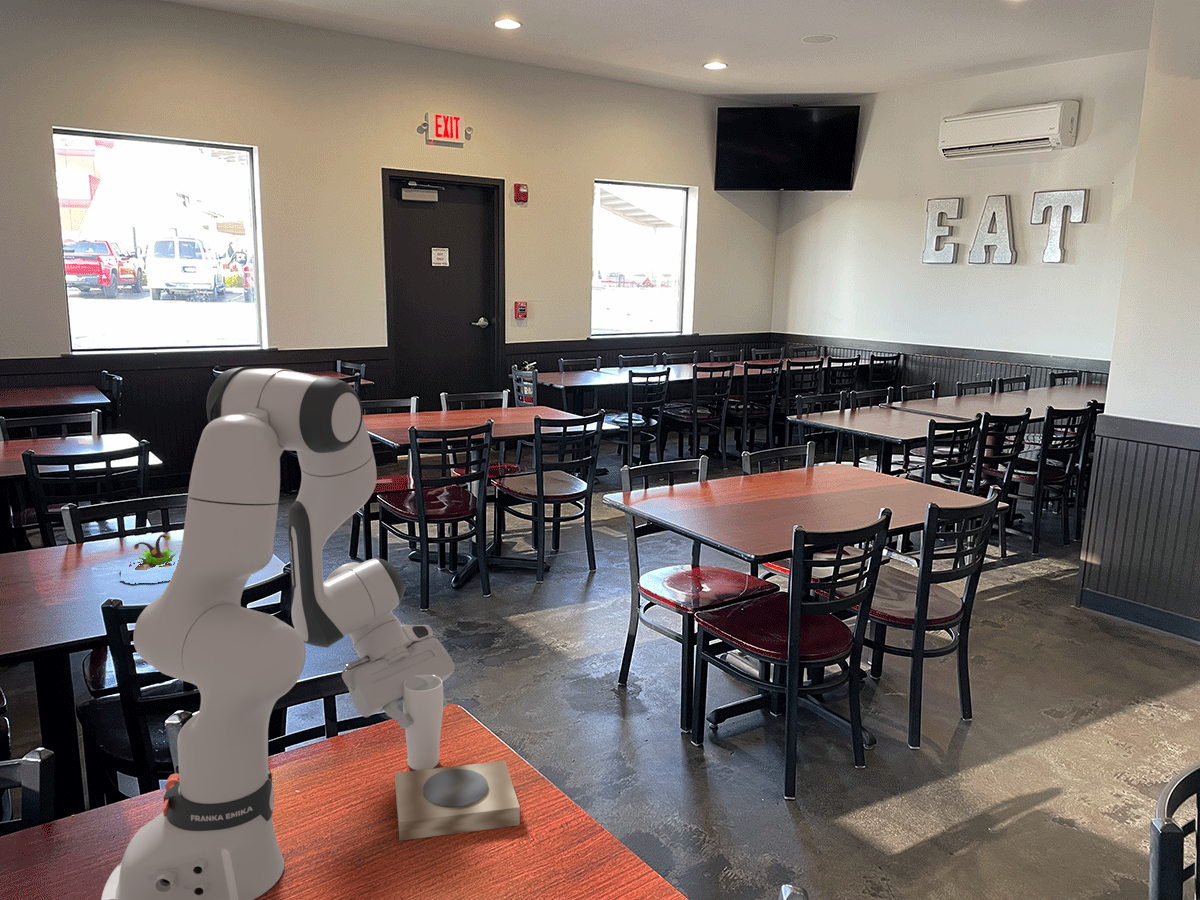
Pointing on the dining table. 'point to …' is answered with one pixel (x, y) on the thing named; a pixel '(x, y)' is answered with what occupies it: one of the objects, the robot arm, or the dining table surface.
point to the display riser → (455, 800)
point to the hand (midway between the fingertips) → (426, 717)
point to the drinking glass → (424, 722)
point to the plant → (154, 555)
